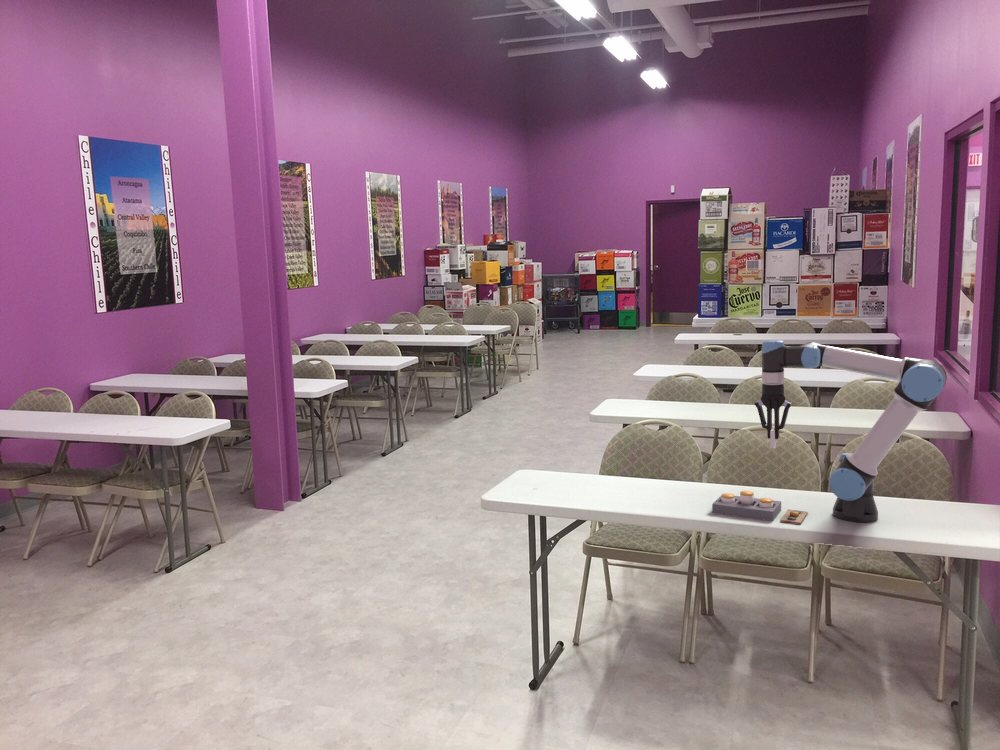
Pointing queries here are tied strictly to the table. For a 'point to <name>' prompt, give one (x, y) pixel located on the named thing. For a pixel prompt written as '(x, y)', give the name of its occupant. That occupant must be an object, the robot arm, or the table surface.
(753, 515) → the button board
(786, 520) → the card
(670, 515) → the table surface
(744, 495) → the button mid
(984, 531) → the table surface
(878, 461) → the robot arm
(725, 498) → the button
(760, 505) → the button
